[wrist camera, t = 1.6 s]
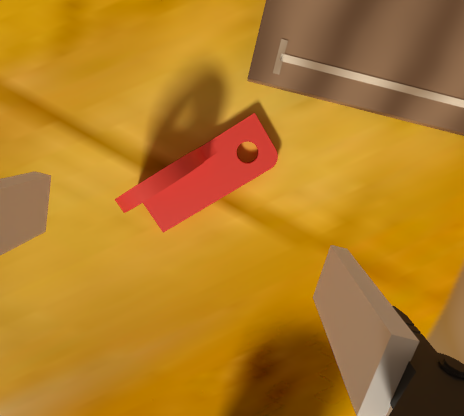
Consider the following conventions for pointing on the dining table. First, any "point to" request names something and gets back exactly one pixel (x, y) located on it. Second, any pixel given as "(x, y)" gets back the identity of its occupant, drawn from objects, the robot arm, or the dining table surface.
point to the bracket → (202, 175)
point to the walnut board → (368, 56)
